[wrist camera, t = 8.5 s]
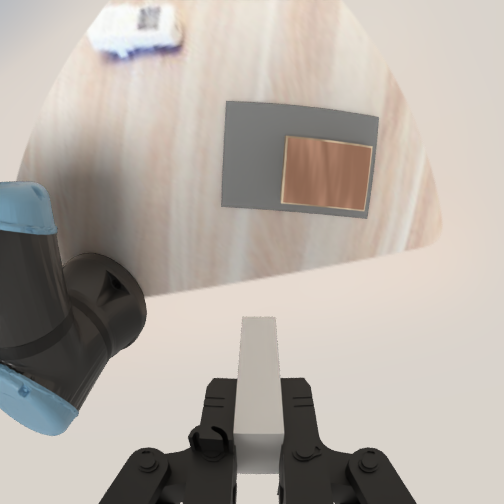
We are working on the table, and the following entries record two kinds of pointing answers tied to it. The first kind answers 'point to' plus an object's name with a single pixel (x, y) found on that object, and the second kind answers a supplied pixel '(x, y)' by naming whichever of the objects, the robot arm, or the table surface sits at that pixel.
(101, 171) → the table surface
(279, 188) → the mat
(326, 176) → the brown wooden block
